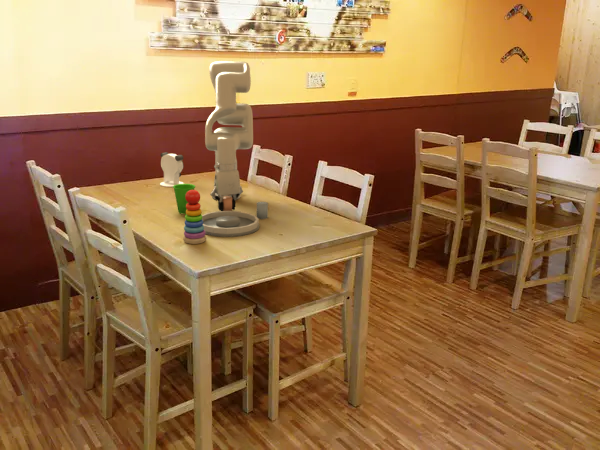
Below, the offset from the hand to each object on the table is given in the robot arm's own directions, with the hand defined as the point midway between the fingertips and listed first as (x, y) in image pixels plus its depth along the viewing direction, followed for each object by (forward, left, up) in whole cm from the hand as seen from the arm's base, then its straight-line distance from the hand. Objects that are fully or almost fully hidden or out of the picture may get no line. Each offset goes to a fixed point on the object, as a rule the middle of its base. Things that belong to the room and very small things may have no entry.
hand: (226, 209), depth 242 cm
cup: (+10, -14, -1) cm, 17 cm away
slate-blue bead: (-2, +16, -1) cm, 16 cm away
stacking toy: (+36, +12, -1) cm, 38 cm away
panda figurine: (-24, -50, -1) cm, 55 cm away
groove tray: (+16, +12, -1) cm, 20 cm away
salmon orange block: (0, 0, -1) cm, 1 cm away
